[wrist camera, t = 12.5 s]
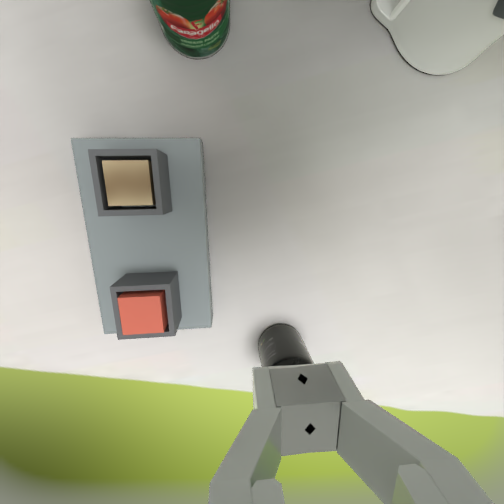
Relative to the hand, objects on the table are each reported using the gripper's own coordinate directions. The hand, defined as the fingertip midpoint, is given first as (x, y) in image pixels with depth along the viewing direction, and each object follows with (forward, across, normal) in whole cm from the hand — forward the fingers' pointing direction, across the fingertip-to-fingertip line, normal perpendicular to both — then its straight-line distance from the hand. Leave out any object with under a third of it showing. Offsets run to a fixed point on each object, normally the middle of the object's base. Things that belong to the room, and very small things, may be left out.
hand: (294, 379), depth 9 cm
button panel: (+28, +12, +1) cm, 30 cm away
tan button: (+25, +12, -6) cm, 28 cm away
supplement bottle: (+27, -4, +18) cm, 33 cm away
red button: (+23, +12, +8) cm, 27 cm away
